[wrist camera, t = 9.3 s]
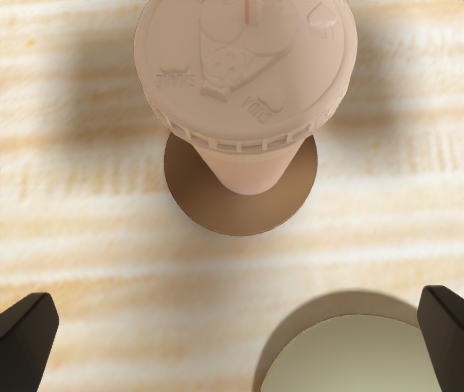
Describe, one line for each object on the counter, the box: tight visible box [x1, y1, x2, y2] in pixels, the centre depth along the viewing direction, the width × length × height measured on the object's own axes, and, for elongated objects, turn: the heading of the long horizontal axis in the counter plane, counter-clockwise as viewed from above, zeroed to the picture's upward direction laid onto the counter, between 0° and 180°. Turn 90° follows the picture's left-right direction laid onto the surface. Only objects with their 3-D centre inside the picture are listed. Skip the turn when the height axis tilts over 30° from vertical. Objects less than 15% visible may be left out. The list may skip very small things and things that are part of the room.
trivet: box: [164, 132, 317, 236], centre depth 20 cm, size 8×8×1 cm
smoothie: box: [133, 0, 358, 195], centre depth 13 cm, size 6×6×14 cm
